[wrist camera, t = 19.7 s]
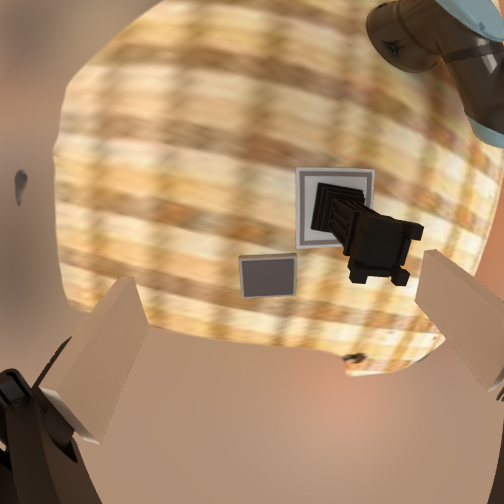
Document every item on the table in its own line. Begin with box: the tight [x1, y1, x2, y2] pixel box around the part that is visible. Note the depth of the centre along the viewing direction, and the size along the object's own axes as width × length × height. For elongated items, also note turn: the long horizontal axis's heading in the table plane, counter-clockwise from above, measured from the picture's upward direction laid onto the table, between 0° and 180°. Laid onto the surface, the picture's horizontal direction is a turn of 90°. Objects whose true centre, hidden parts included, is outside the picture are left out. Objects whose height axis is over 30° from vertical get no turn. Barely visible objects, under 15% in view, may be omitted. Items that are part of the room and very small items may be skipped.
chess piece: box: [310, 182, 424, 286], centre depth 35 cm, size 8×8×20 cm
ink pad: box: [239, 253, 297, 298], centre depth 49 cm, size 8×10×2 cm
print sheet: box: [295, 167, 375, 249], centre depth 44 cm, size 14×14×1 cm
